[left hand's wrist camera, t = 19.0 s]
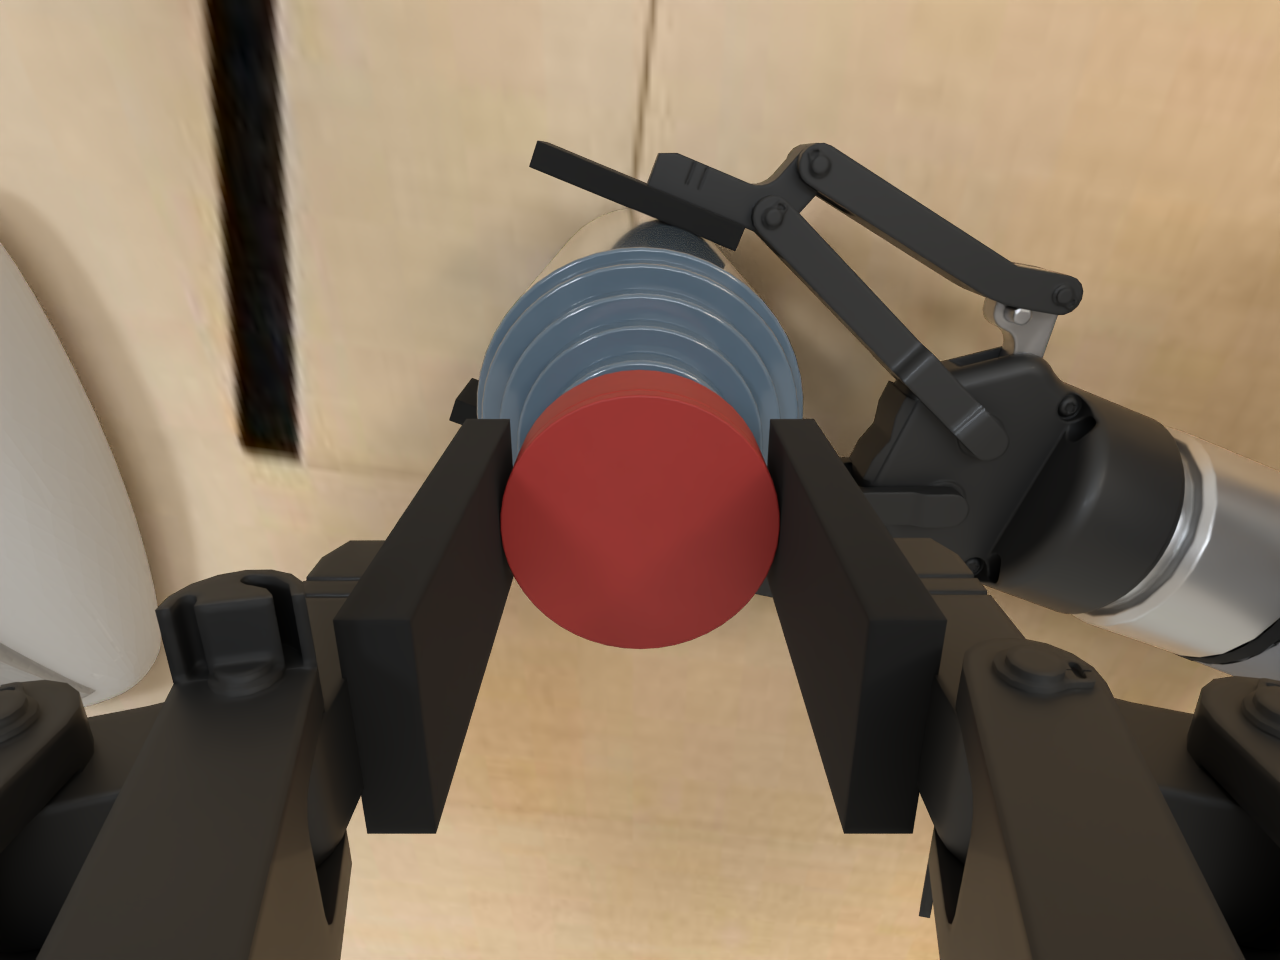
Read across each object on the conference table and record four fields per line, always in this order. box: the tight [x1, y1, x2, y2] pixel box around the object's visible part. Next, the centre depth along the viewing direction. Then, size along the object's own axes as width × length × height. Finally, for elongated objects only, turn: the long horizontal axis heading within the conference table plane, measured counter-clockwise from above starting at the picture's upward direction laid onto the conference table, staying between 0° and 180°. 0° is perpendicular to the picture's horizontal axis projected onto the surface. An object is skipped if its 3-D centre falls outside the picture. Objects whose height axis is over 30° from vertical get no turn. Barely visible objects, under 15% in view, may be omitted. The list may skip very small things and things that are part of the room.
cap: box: [500, 370, 780, 649], centre depth 14 cm, size 4×4×2 cm
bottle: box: [477, 208, 803, 466], centre depth 23 cm, size 8×8×20 cm
